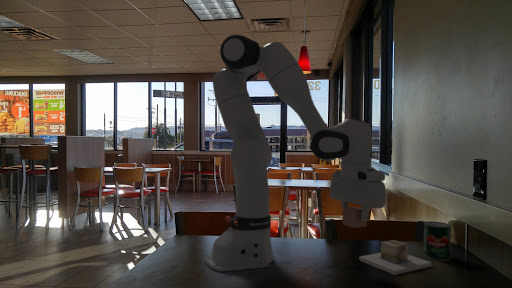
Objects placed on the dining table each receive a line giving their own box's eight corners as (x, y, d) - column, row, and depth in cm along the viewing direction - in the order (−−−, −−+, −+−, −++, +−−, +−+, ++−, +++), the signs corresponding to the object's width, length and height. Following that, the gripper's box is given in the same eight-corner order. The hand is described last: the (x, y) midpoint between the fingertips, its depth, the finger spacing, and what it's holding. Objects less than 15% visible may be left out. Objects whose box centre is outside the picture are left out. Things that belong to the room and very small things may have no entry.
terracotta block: (353, 227, 99) (354, 210, 99) (342, 224, 103) (342, 207, 103) (366, 226, 101) (367, 209, 101) (354, 222, 106) (355, 206, 106)
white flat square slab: (394, 275, 97) (394, 270, 97) (359, 260, 109) (359, 256, 109) (431, 266, 104) (431, 262, 104) (394, 253, 116) (394, 249, 116)
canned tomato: (443, 253, 117) (443, 221, 117) (456, 261, 109) (456, 226, 109) (419, 253, 117) (419, 221, 117) (431, 260, 109) (431, 226, 109)
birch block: (395, 263, 103) (395, 246, 103) (380, 257, 108) (380, 242, 108) (407, 260, 105) (407, 244, 105) (393, 255, 110) (393, 239, 110)
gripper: (325, 169, 110) (324, 212, 110) (373, 175, 92) (372, 226, 92) (340, 169, 113) (339, 211, 113) (390, 175, 95) (388, 224, 95)
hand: (354, 218), depth 102 cm, fingers closed on terracotta block, 5 cm apart
